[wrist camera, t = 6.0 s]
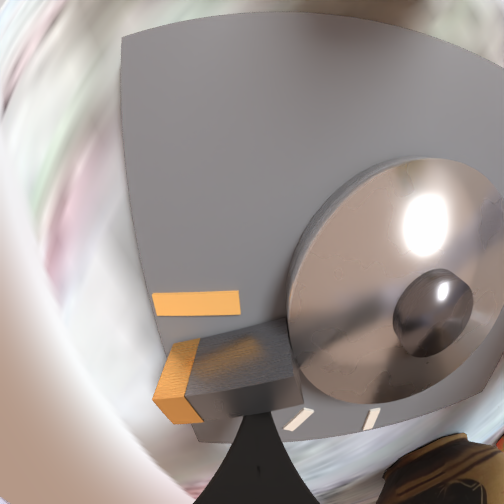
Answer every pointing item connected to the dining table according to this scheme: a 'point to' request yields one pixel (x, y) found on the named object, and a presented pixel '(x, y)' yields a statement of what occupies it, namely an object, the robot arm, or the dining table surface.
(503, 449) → the cracker box
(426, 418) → the dining table surface
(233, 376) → the dial
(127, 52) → the board
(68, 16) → the dining table surface
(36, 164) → the dining table surface
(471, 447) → the ceramic jug
